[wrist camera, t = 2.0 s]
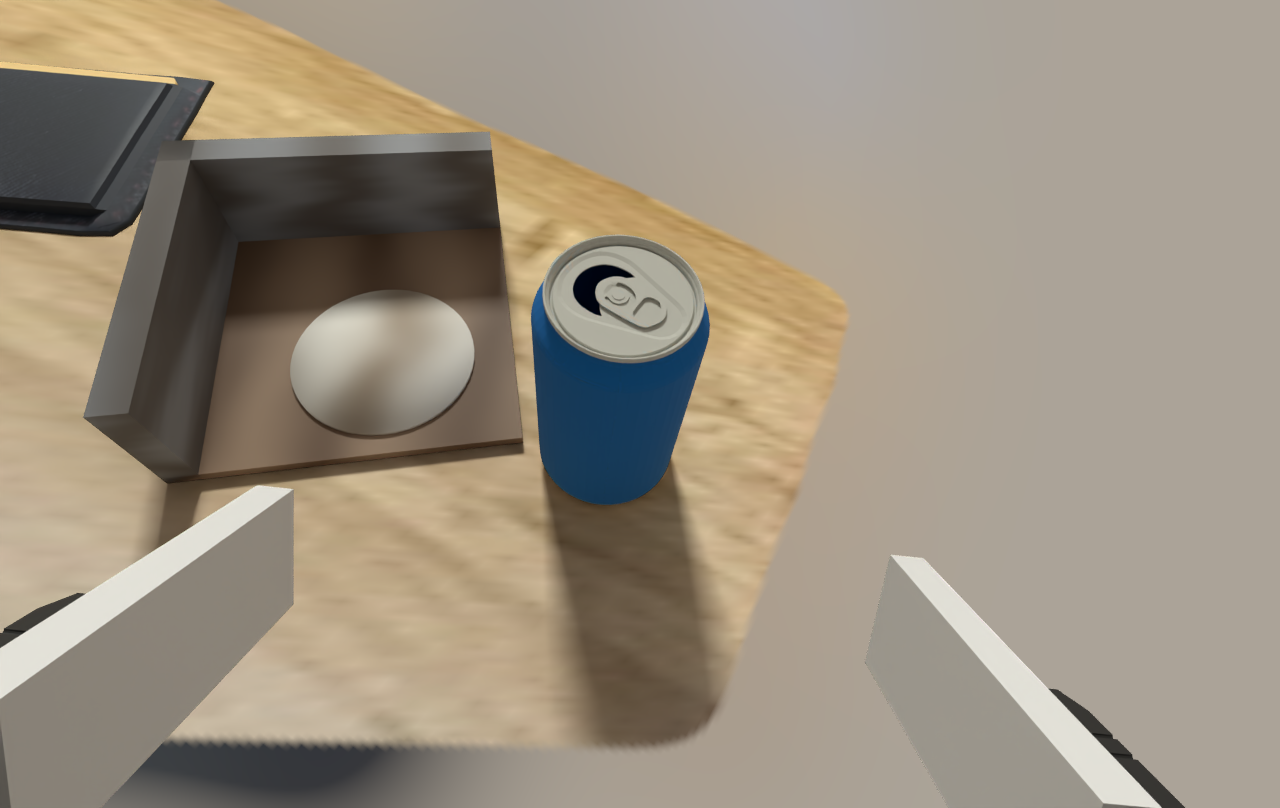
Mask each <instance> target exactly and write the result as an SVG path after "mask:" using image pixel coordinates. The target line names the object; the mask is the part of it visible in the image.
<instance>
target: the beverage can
mask: <svg viewBox="0 0 1280 808" xmlns="http://www.w3.org/2000/svg"><path fill="white" fill-rule="evenodd" d="M531 325H532V340H533V355H534V370H535V384H536V399H537V414H538V429H539V444H540V454H541V458H542V462H543V464H544V467H545V469H546V471H547V472H548V474H549V476H550V477H551V478H552V480H553V481H554V482H555V483H556V484H557V485H558V486H559V487H560V488H561V489H562V490H564V491H565V492H566V493H568V494H569V495H571V496H573V497H575V498H577V499H579V500H582V501H585V502H589V503H593V504H600V505H614V504H621V503H625V502H629V501H632V500H634V499H637V498H639V497H640V496H642V495H644V494H645V493H647V492H648V491H650V490H651V489H652V488H653V487H654V486H655V485H656V484H657V483H658V482H659V481H660V479H661V478H662V477H663V475H664V473H665V471H666V469H667V467H668V464H669V461H670V458H671V455H672V452H673V449H674V445H675V442H676V439H677V436H678V433H679V430H680V427H681V424H682V420H683V417H684V414H685V411H686V408H687V405H688V402H689V399H690V396H691V392H692V389H693V386H694V383H695V380H696V377H697V374H698V371H699V367H700V364H701V361H702V358H703V355H704V352H705V349H706V346H707V342H708V338H709V327H710V323H709V315H708V311H707V307H706V304H705V299H704V292H703V288H702V285H701V283H700V280H699V278H698V276H697V275H696V273H695V272H694V270H693V269H692V268H691V266H690V265H689V264H688V263H687V262H686V261H685V260H684V259H683V258H682V257H681V256H679V255H678V254H677V253H675V252H674V251H672V250H671V249H669V248H667V247H665V246H663V245H661V244H659V243H657V242H654V241H651V240H648V239H645V238H641V237H636V236H629V235H605V236H598V237H594V238H590V239H587V240H584V241H581V242H579V243H577V244H575V245H573V246H571V247H570V248H568V249H567V250H565V251H564V252H563V253H561V254H560V255H559V256H558V257H557V258H556V259H555V261H554V262H553V263H552V264H551V266H550V268H549V269H548V271H547V273H546V276H545V279H544V281H543V283H542V285H541V286H540V288H539V289H538V291H537V294H536V296H535V299H534V302H533V306H532V313H531Z"/></svg>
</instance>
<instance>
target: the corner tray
mask: <svg viewBox="0 0 1280 808" xmlns="http://www.w3.org/2000/svg"><path fill="white" fill-rule="evenodd" d="M83 418H85V419H86V420H87V421H88V422H90V423H91V424H92V425H93V426H95V427H96V428H97V429H99V430H100V431H101V432H102V433H104V434H105V435H106V436H108V437H109V438H110V439H111V440H113V441H114V442H115V443H116V444H118V445H119V446H120V447H122V448H123V449H124V450H125V451H127V452H128V453H129V454H130V455H132V456H133V457H134V458H136V459H137V460H138V461H139V462H141V463H142V464H143V465H144V466H146V467H147V468H148V469H150V470H151V471H152V472H153V473H155V474H156V475H157V476H159V477H160V478H161V479H162V480H164V481H165V482H166V483H174V482H183V481H191V480H200V479H209V478H217V477H226V476H235V475H243V474H252V473H261V472H269V471H278V470H287V469H296V468H304V467H313V466H322V465H330V464H339V463H348V462H356V461H365V460H374V459H383V458H391V457H400V456H409V455H417V454H426V453H435V452H443V451H452V450H461V449H470V448H478V447H487V446H496V445H504V444H513V443H522V442H523V438H522V429H521V419H520V410H519V400H518V391H517V381H516V372H515V362H514V353H513V344H512V334H511V325H510V315H509V306H508V296H507V287H506V277H505V268H504V259H503V249H502V240H501V230H500V221H499V212H498V203H497V194H496V184H495V175H494V166H493V157H492V148H491V139H490V132H466V133H431V134H395V135H360V136H324V137H289V138H253V139H217V140H182V141H162V143H161V146H160V150H159V153H158V157H157V160H156V164H155V167H154V171H153V174H152V178H151V181H150V185H149V188H148V192H147V195H146V199H145V202H144V206H143V209H142V213H141V216H140V220H139V223H138V227H137V230H136V234H135V237H134V241H133V245H132V248H131V252H130V255H129V259H128V262H127V266H126V269H125V273H124V276H123V280H122V283H121V287H120V290H119V294H118V297H117V301H116V304H115V308H114V311H113V315H112V318H111V322H110V325H109V329H108V332H107V336H106V339H105V343H104V347H103V350H102V354H101V357H100V361H99V364H98V368H97V371H96V375H95V378H94V382H93V385H92V389H91V392H90V396H89V399H88V403H87V406H86V410H85V413H84V417H83Z"/></svg>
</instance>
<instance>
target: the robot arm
mask: <svg viewBox="0 0 1280 808" xmlns="http://www.w3.org/2000/svg"><path fill="white" fill-rule="evenodd" d="M293 506H294V489H286V488H277V487H268V486H259V485H257V486H255V487H254V488H252V489H250V490H249V491H247V492H246V493H244V494H243V495H241V496H239V497H238V498H236V499H235V500H233V501H232V502H230V503H228V504H227V505H225V506H224V507H222V508H220V509H219V510H217V511H216V512H214V513H213V514H211V515H209V516H208V517H206V518H205V519H203V520H202V521H200V522H198V523H197V524H195V525H194V526H192V527H191V528H189V529H187V530H186V531H184V532H183V533H181V534H179V535H178V536H176V537H175V538H173V539H172V540H170V541H168V542H167V543H165V544H164V545H162V546H161V547H159V548H157V549H156V550H154V551H153V552H151V553H149V554H148V555H146V556H145V557H143V558H142V559H140V560H138V561H137V562H135V563H134V564H132V565H131V566H129V567H127V568H126V569H124V570H123V571H121V572H120V573H118V574H116V575H115V576H113V577H112V578H110V579H108V580H107V581H105V582H104V583H102V584H101V585H99V586H97V587H96V588H94V589H93V590H91V591H90V592H88V593H86V594H83V593H77V594H74V595H71V596H69V597H66V598H64V599H61V600H58V601H56V602H53V603H51V604H48V605H45V606H43V607H40V608H38V609H36V610H34V611H32V612H31V613H29V614H28V615H26V616H24V617H23V618H21V619H19V620H18V621H16V622H14V623H13V624H11V625H9V626H8V627H6V628H4V631H3V633H0V808H101V807H102V806H103V805H104V804H105V803H106V802H107V801H108V800H109V798H111V796H112V795H113V794H114V793H115V792H116V791H117V790H118V789H119V788H120V787H121V786H122V785H123V784H124V783H125V782H126V781H127V780H128V778H130V776H131V775H132V774H133V773H134V772H135V771H136V770H137V769H138V768H139V767H140V766H141V765H142V764H143V763H144V762H145V761H146V759H148V757H149V756H150V755H151V754H152V753H153V752H154V751H155V750H156V749H157V748H158V747H159V746H160V745H161V744H162V743H163V742H164V741H165V740H166V738H167V737H168V736H169V735H170V734H171V733H172V732H173V731H174V730H175V729H176V728H177V727H178V726H179V725H180V724H181V723H182V722H183V720H184V719H185V718H186V717H187V716H188V715H189V714H190V713H191V712H192V711H193V710H194V709H195V708H196V707H197V706H198V705H199V704H200V702H201V701H202V700H203V699H204V698H205V697H206V696H207V695H208V694H209V693H210V692H211V691H212V690H213V689H214V688H215V687H216V686H217V685H218V683H219V682H220V681H221V680H222V679H223V678H224V677H225V676H226V675H227V674H228V673H229V672H230V671H231V670H232V669H233V668H234V667H235V665H236V664H237V663H238V662H239V661H240V660H241V659H242V658H243V657H244V656H245V655H246V654H247V653H248V652H249V651H250V650H251V649H252V648H253V646H254V645H255V644H256V643H257V642H258V641H259V640H260V639H261V638H262V637H263V636H264V635H265V634H266V633H267V632H268V631H269V630H270V628H271V627H272V626H273V625H274V624H275V623H276V622H277V621H278V620H279V619H280V618H281V617H282V616H283V615H284V614H285V613H286V612H287V610H288V609H289V608H290V607H291V606H292V605H293ZM865 663H866V665H867V667H868V669H869V670H870V672H871V674H872V675H873V677H874V679H875V681H876V682H877V684H878V686H879V688H880V690H881V691H882V693H883V695H884V696H885V698H886V700H887V702H888V703H889V705H890V707H891V709H892V710H893V712H894V714H895V715H896V717H897V719H898V721H899V723H900V724H901V726H902V728H903V730H904V731H905V733H906V735H907V736H908V738H909V740H910V742H911V744H912V745H913V747H914V749H915V751H916V752H917V754H918V756H919V758H920V759H921V761H922V763H923V765H924V766H925V768H926V770H927V771H928V773H929V775H930V777H931V779H932V780H933V782H934V784H935V785H936V787H937V789H938V791H939V792H940V794H941V796H942V798H943V800H944V801H945V803H946V805H947V806H948V808H1185V807H1184V806H1183V805H1182V804H1181V803H1180V802H1179V801H1178V800H1177V799H1176V798H1175V797H1174V796H1173V795H1172V794H1171V793H1170V792H1169V791H1168V790H1167V789H1166V788H1165V787H1164V786H1163V785H1162V784H1161V783H1160V782H1159V781H1158V780H1157V779H1156V778H1155V777H1154V776H1153V775H1152V774H1151V773H1150V772H1149V771H1148V770H1147V769H1146V768H1145V767H1144V766H1143V765H1142V764H1141V763H1140V762H1139V761H1138V760H1133V758H1132V754H1131V753H1130V752H1129V751H1128V750H1127V749H1126V748H1125V747H1124V746H1123V745H1122V744H1121V743H1120V742H1119V741H1118V740H1116V739H1113V737H1112V734H1111V733H1110V732H1109V731H1108V730H1107V729H1106V728H1105V727H1104V726H1103V725H1102V724H1101V723H1100V722H1099V721H1098V720H1097V719H1096V718H1095V717H1094V716H1093V715H1092V714H1091V713H1090V712H1089V711H1088V710H1086V709H1085V708H1083V707H1082V706H1081V705H1079V704H1078V703H1076V702H1075V701H1073V700H1072V699H1070V698H1069V697H1067V696H1066V695H1064V694H1063V693H1062V692H1060V691H1059V690H1056V689H1048V688H1047V687H1046V686H1045V685H1044V684H1043V683H1042V682H1041V681H1040V680H1039V679H1038V678H1037V677H1036V676H1035V675H1034V674H1033V672H1032V671H1031V670H1030V669H1029V668H1028V667H1027V666H1026V665H1025V664H1024V663H1023V662H1022V661H1021V660H1020V659H1019V658H1018V657H1017V656H1016V655H1015V654H1014V653H1013V652H1012V650H1011V649H1010V648H1009V647H1008V646H1007V645H1006V644H1005V643H1004V642H1003V641H1002V640H1001V639H1000V638H999V637H998V636H997V635H996V634H995V633H994V632H993V631H992V629H991V628H990V627H989V626H988V625H987V624H986V623H985V622H984V621H983V620H982V619H981V618H980V617H979V616H978V615H977V614H976V613H975V612H974V611H973V610H972V609H971V607H970V606H969V605H968V604H967V603H966V602H965V601H964V600H963V599H962V598H961V597H960V596H959V595H958V594H957V593H956V592H955V591H954V590H953V589H952V588H951V587H950V586H949V584H948V583H947V582H946V581H945V580H943V578H942V577H941V576H940V575H939V574H938V573H937V572H936V571H935V570H934V569H933V568H932V567H931V566H930V565H929V564H928V562H927V561H925V559H924V558H916V557H907V556H897V555H890V558H889V562H888V567H887V571H886V575H885V579H884V583H883V587H882V592H881V596H880V600H879V604H878V609H877V613H876V617H875V621H874V626H873V630H872V634H871V639H870V643H869V647H868V651H867V656H866V660H865Z"/></svg>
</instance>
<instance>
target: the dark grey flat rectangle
mask: <svg viewBox="0 0 1280 808" xmlns="http://www.w3.org/2000/svg"><path fill="white" fill-rule="evenodd" d="M213 85H214V82H212V81H208V80H199V79H191V78H183V77H172V76H157V75H143V74H131V73H120V72H109V71H98V70H88V69H77V68H66V67H55V66H44V65H33V64H22V63H11V62H0V228H2V229H14V230H26V231H38V232H48V233H58V234H69V235H79V236H114V235H115V234H117V233H118V232H120V231H122V230H123V229H125V228H127V227H128V226H130V225H132V224H133V222H134V221H135V219H136V218H137V216H138V215H139V213H140V212H141V210H142V209H143V206H144V202H145V199H146V195H147V192H148V188H149V185H150V181H151V178H152V174H153V171H154V167H155V164H156V160H157V157H158V153H159V150H160V146H161V143H162V141H181V140H182V138H183V137H184V135H185V133H186V132H187V130H188V128H189V127H190V125H191V123H192V122H193V120H194V118H195V117H196V115H197V113H198V111H199V110H200V108H201V106H202V104H203V102H204V100H205V98H206V97H207V95H208V93H209V91H210V90H211V88H212V86H213Z"/></svg>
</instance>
